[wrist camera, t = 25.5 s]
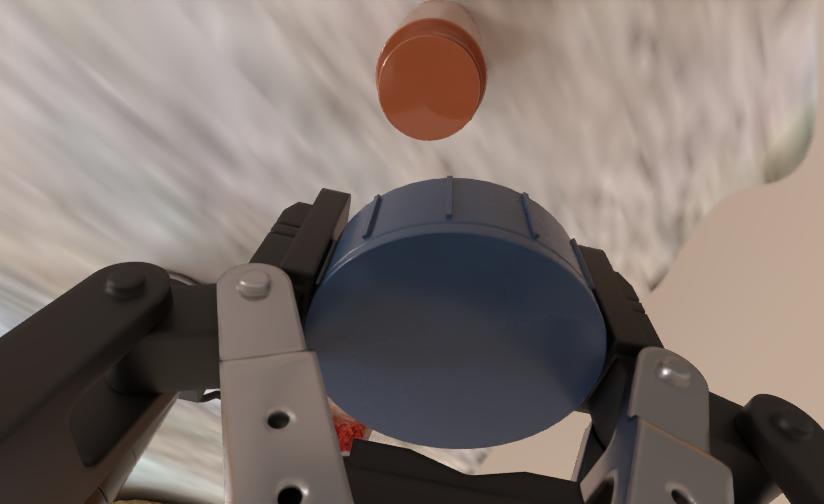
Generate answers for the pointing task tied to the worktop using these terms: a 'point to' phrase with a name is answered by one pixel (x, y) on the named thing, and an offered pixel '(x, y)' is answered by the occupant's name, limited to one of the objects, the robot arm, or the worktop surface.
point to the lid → (456, 317)
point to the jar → (432, 71)
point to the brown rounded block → (135, 502)
